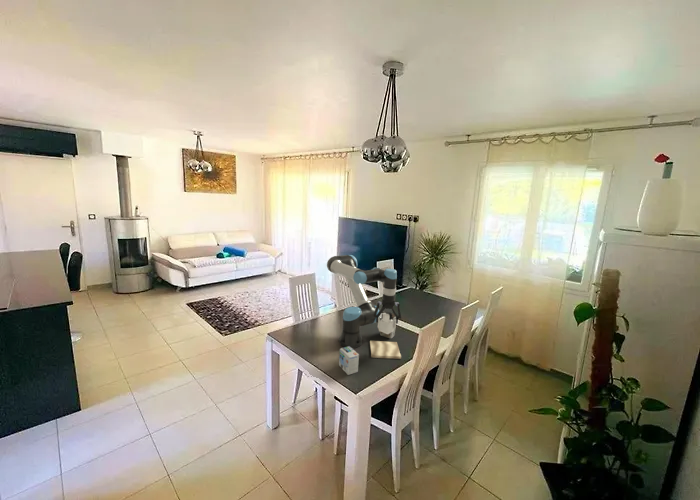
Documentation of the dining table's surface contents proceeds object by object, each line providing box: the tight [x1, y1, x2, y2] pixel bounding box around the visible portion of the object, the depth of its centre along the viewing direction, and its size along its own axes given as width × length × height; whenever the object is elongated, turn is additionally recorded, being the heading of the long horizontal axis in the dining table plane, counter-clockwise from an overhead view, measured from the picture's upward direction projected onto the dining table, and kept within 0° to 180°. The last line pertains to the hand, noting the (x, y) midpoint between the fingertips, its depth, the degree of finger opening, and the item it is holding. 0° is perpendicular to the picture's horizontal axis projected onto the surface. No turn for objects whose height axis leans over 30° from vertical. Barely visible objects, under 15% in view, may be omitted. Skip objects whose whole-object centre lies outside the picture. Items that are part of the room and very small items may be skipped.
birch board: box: [369, 340, 402, 360], centre depth 190 cm, size 18×18×2 cm
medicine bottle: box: [378, 311, 395, 334], centre depth 187 cm, size 7×7×12 cm
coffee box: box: [379, 311, 396, 339], centre depth 209 cm, size 9×6×16 cm
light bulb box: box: [338, 346, 360, 376], centre depth 168 cm, size 11×7×11 cm, turn 32°
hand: (386, 327), depth 187 cm, fingers closed on medicine bottle, 10 cm apart
